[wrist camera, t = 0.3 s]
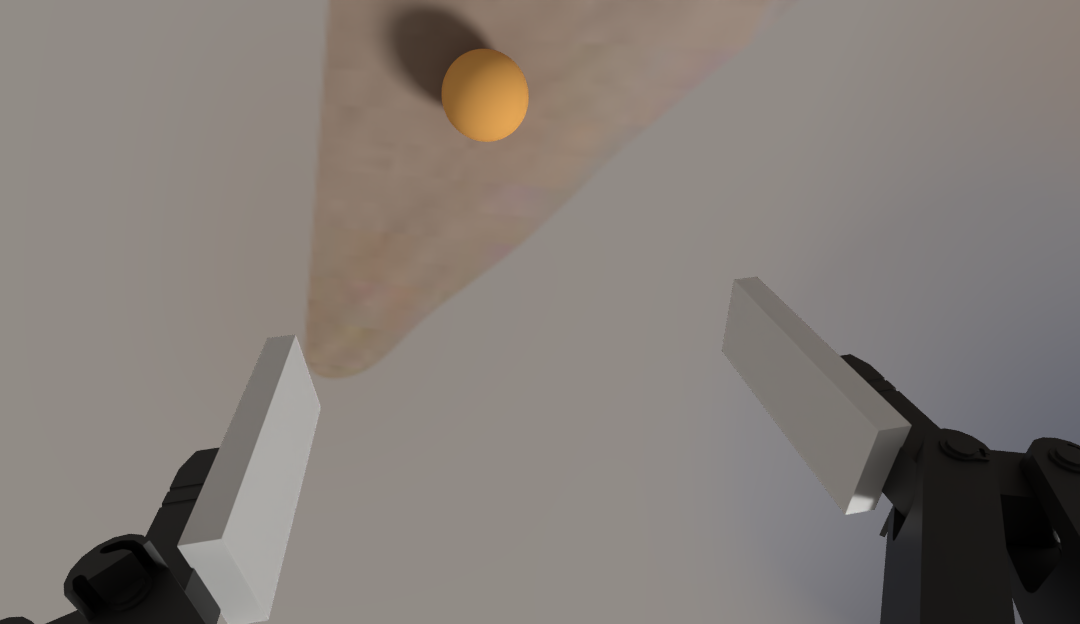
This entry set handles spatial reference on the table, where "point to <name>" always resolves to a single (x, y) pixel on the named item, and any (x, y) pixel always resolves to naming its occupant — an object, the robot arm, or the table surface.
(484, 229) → the table surface
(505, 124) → the ball
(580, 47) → the table surface
